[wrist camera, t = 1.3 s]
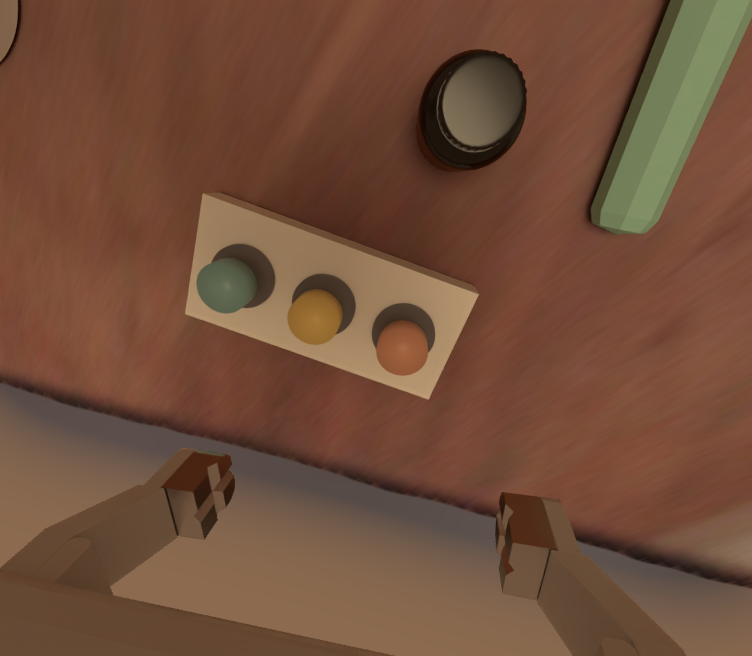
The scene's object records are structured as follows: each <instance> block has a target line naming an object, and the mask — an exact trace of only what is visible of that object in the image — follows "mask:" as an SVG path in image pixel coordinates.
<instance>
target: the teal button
mask: <svg viewBox="0 0 752 656" xmlns="http://www.w3.org/2000/svg"><path fill="white" fill-rule="evenodd" d="M196 286H197V291H198V294H199V296H200V298H201V299H202V301H203V302H204V303H205V304H206V305H207V306H208V307H209V308H211V309H212V310H214V311H216V312H219V313H224V314H229V313H234V312H236V311H238V310H240V309H241V308H242V307H244V306H245V305H246V304H248V303H249V302H250V301H251V300H252V299H253V298H254V296H255V294H256V291H257V281H256V278H255V275H254V273H253V272H252V270H251V269H250V268H249V267H248V266H247V265H246V264H245V263H244V262H242V261H240V260H238V259H235V258H223V259H220V260H217V261H215V262H213V263H210V264H208V265H206V266H204V267H203V268H202V269H201V270H200V272H199V274H198V276H197V281H196Z"/></svg>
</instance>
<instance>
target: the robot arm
mask: <svg viewBox="0 0 752 656" xmlns="http://www.w3.org/2000/svg"><path fill="white" fill-rule="evenodd" d="M17 18H18V0H0V61H1V60H2V59H3V58H4V57H5V55H6V54H7V52H8V50H9V49H10V46H11V44H12V42H13V39H14V35H15V32H16V26H17ZM231 465H232V462H231V458H230V456H229V455H227V454H222V453H216V452H210V451H203V450H195V449H190V448H182V449H179V450H178V451H177V452H176V453H175V454H174V455H173V456H172V457H171V458H170V459H169V460H168V461H167V462H166V463H165V464H164V465H163V466H162V467H161V468H160V469H159V470H158V471H157V472H156V473H155V474H154V475H153V476H152V477H151V478H150V479H149V480H148V481H147V482H146V483H145V484H144V485H137V486H135V487H133V488H131V489H129V490H127V491H124V492H122V493H120V494H118V495H116V496H114V497H112V498H110V499H107V500H105V501H103V502H101V503H99V504H97V505H95V506H93V507H90V508H89V509H86V510H84V511H82V512H80V513H78V514H76V515H74V516H71V517H69V518H67V519H65V520H63V521H61V522H59V523H57V524H55V525H52V526H50V527H48V528H46V529H44V530H43V531H42V532H41V533H40V534H39V535H38V536H37V537H35V538H34V539H33V540H32V541H31V542H30V543H28V544H27V545H26V546H25V547H24V548H23V549H22V550H20V551H19V552H18V553H17V554H16V555H15V556H13V557H12V558H11V559H10V560H9V561H8V562H7V563H6V564H4V565H3V566H2V567H1V568H0V656H393V655H389V654H384V653H379V652H375V651H370V650H365V649H361V648H356V647H351V646H346V645H342V644H337V643H332V642H328V641H323V640H318V639H314V638H309V637H304V636H300V635H295V634H290V633H286V632H281V631H277V630H272V629H267V628H262V627H258V626H253V625H248V624H243V623H239V622H234V621H230V620H225V619H221V618H216V617H211V616H206V615H202V614H197V613H193V612H188V611H183V610H179V609H174V608H170V607H165V606H160V605H155V604H151V603H146V602H141V601H137V600H132V599H128V598H122V597H118V596H114V595H113V593H112V591H111V588H110V586H111V585H113V584H114V583H116V582H117V581H118V580H120V579H121V578H122V577H124V576H125V575H126V574H128V573H129V572H131V571H132V570H133V569H135V568H136V567H138V566H139V565H140V564H142V563H143V562H144V561H146V560H147V559H148V558H150V557H151V556H153V555H154V554H155V553H157V552H158V551H160V550H161V549H162V548H164V547H165V546H167V545H168V544H169V543H171V542H172V541H173V540H175V539H176V538H177V536H182V537H189V538H196V539H202V540H204V539H205V538H206V537H207V535H208V534H209V532H210V531H211V529H212V528H213V526H214V525H215V523H216V522H217V520H218V519H217V513H218V512H220V511H221V510H223V509H225V508H226V507H227V505H228V504H229V502H230V501H231V499H232V496H233V493H234V489H235V479H234V475H233V474H232V473H231V472H230V470H229V468H230V466H231ZM499 506H500V513H498V514H497V517H496V524H495V542H496V550H497V553H498V554H499V555H500V556H501V559H500V564H499V573H500V580H501V587H502V593H503V594H508V595H513V596H517V597H522V598H527V599H532V600H536V601H537V603H538V604H539V606H540V607H541V609H542V610H543V612H544V613H545V615H546V616H547V618H548V619H549V621H550V622H551V624H552V625H553V626H554V628H555V630H556V631H557V633H558V634H559V636H560V637H561V639H562V640H563V642H564V643H565V645H566V646H567V648H568V649H569V651H570V652H571V653H572V655H573V656H686V655H685V652H684V650H683V649H682V648H681V647H680V646H679V645H678V644H677V643H676V642H675V641H673V640H672V639H671V637H670V636H669V635H667V634H666V633H665V632H664V631H663V630H662V629H661V628H660V627H659V626H658V625H657V624H656V623H655V622H654V621H653V620H652V619H651V618H650V617H649V616H648V615H647V614H646V613H645V612H644V611H643V610H642V609H641V608H640V607H639V606H638V605H637V604H636V603H635V602H634V601H633V600H632V599H631V598H630V597H629V596H628V595H627V594H626V593H625V592H624V591H623V590H622V589H621V588H620V587H619V586H618V585H617V584H616V583H615V582H613V580H612V579H611V578H610V577H609V576H608V575H607V574H606V573H604V572H603V570H601V569H600V568H599V567H598V566H597V565H596V564H595V563H594V562H593V561H592V560H591V559H590V558H589V557H588V556H586V555H581V553H580V550H579V547H578V544H577V541H576V539H575V536H574V533H573V530H572V528H571V525H570V522H569V519H568V517H567V514H566V511H565V508H564V506H563V503H562V502H561V500H560V499H553V498H545V497H537V496H529V495H521V494H513V493H505V492H502V493H501V495H500V500H499Z"/></svg>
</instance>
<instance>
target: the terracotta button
mask: <svg viewBox="0 0 752 656" xmlns="http://www.w3.org/2000/svg"><path fill="white" fill-rule="evenodd" d="M376 355H377V359H378V361H379V363H380V365H381V366H382V367H383V368H384V369H385V370H386V371H388V372H390V373H392V374H395V375H399V376H406V375H411V374H413V373H416V372H417V371H419V370H420V369H421V368H422V367H423V366H424V364H425V363H426V361H427V357H428V345H427V337H426V335H425V333H424V331H423V330H422V329H421V328H420V327H419V326H418V325H417V324H415V323H413V322H410V321H405V320H400V321H395V322H392V323H390V324H388V325H387V326H386V327H385V328H384V329H383V330H382V331H381V333H380V336H379V339H378V344H377V349H376Z"/></svg>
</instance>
